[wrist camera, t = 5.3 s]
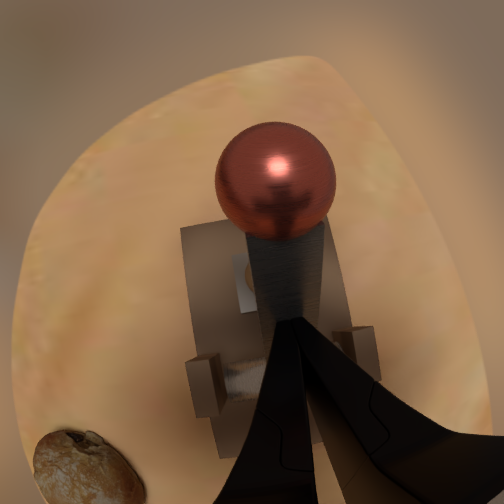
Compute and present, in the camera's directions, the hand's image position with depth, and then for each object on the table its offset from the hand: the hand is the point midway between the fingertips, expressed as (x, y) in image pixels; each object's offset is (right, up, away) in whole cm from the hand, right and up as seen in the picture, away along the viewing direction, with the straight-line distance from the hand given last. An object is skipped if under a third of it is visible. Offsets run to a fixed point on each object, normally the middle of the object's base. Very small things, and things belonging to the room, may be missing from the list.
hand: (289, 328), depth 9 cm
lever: (+1, -4, +7) cm, 8 cm away
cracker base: (0, -3, +10) cm, 10 cm away
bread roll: (-14, -17, +7) cm, 23 cm away
